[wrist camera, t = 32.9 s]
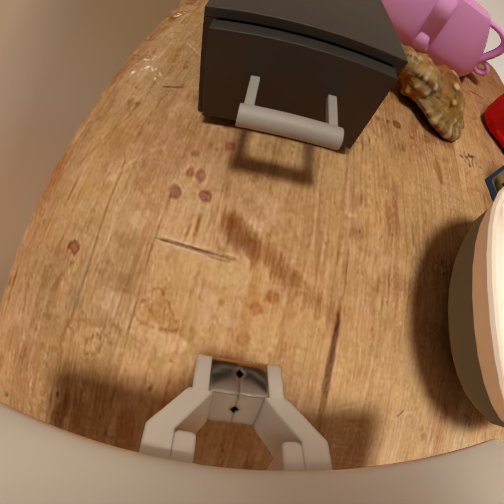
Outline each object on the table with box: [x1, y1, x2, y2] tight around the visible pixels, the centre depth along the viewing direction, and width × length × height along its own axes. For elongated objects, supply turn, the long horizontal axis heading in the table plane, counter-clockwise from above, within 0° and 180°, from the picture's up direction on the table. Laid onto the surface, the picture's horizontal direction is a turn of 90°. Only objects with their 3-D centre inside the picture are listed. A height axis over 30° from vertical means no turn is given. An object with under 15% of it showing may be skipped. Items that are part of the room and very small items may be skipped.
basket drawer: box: [203, 19, 398, 150], centre depth 20 cm, size 17×11×8 cm
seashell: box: [399, 43, 465, 141], centre depth 26 cm, size 9×8×10 cm
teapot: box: [381, 0, 504, 77], centre depth 29 cm, size 19×21×14 cm
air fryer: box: [198, 0, 408, 111], centre depth 21 cm, size 14×13×10 cm
